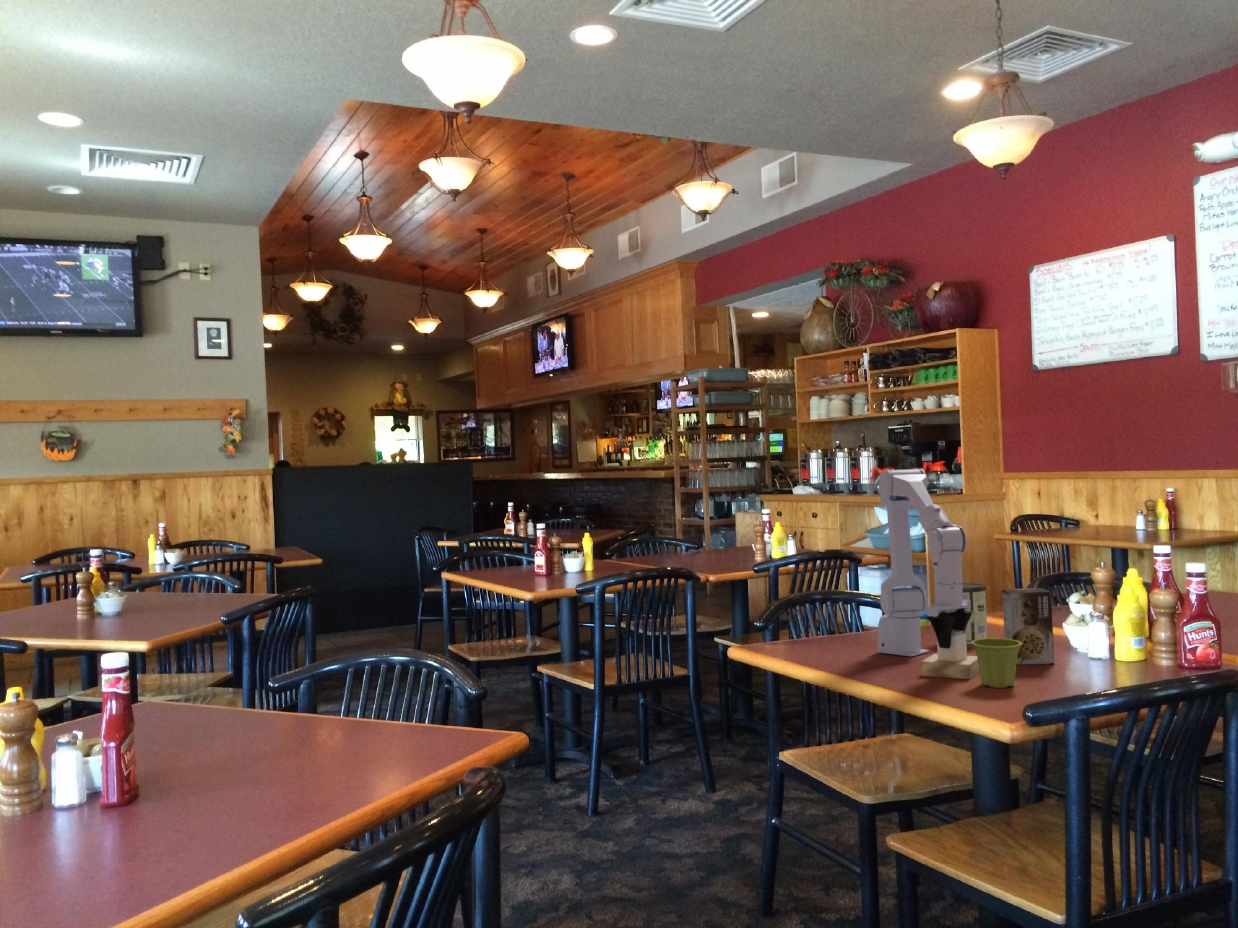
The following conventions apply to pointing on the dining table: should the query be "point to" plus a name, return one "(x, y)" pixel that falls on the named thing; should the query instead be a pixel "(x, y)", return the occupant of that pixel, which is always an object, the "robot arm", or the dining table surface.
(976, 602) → the coffee can
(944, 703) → the dining table surface
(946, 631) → the robot arm
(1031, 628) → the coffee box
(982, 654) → the plant pot
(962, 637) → the white rectangular block
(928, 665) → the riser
